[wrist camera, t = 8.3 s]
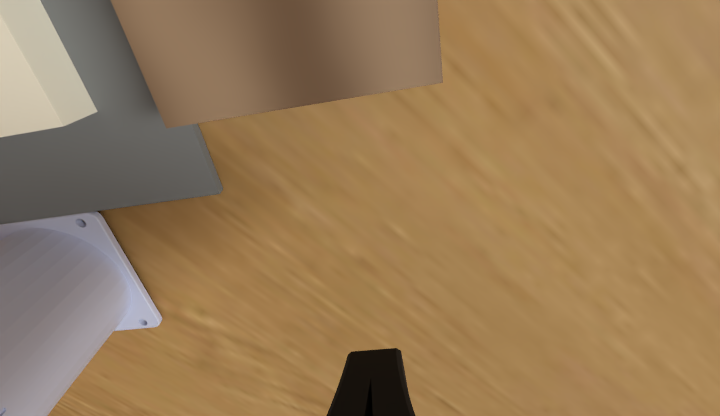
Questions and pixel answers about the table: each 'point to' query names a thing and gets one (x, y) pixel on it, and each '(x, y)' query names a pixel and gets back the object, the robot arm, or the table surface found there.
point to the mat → (102, 134)
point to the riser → (277, 52)
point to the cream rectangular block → (36, 73)
